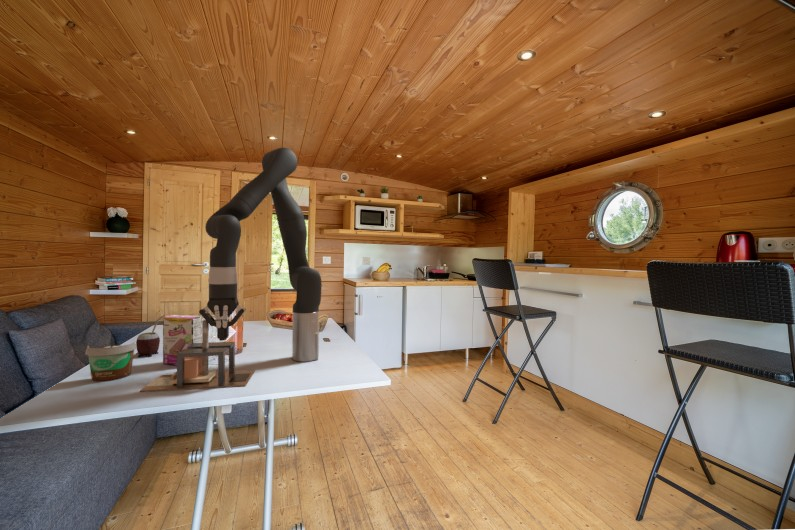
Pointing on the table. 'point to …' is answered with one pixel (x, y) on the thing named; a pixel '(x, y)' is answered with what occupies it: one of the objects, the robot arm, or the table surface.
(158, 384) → the tunnel
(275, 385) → the table surface
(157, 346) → the mate gourd
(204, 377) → the sled
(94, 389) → the table surface
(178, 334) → the candy bar box
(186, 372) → the block
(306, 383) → the table surface
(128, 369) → the food container
